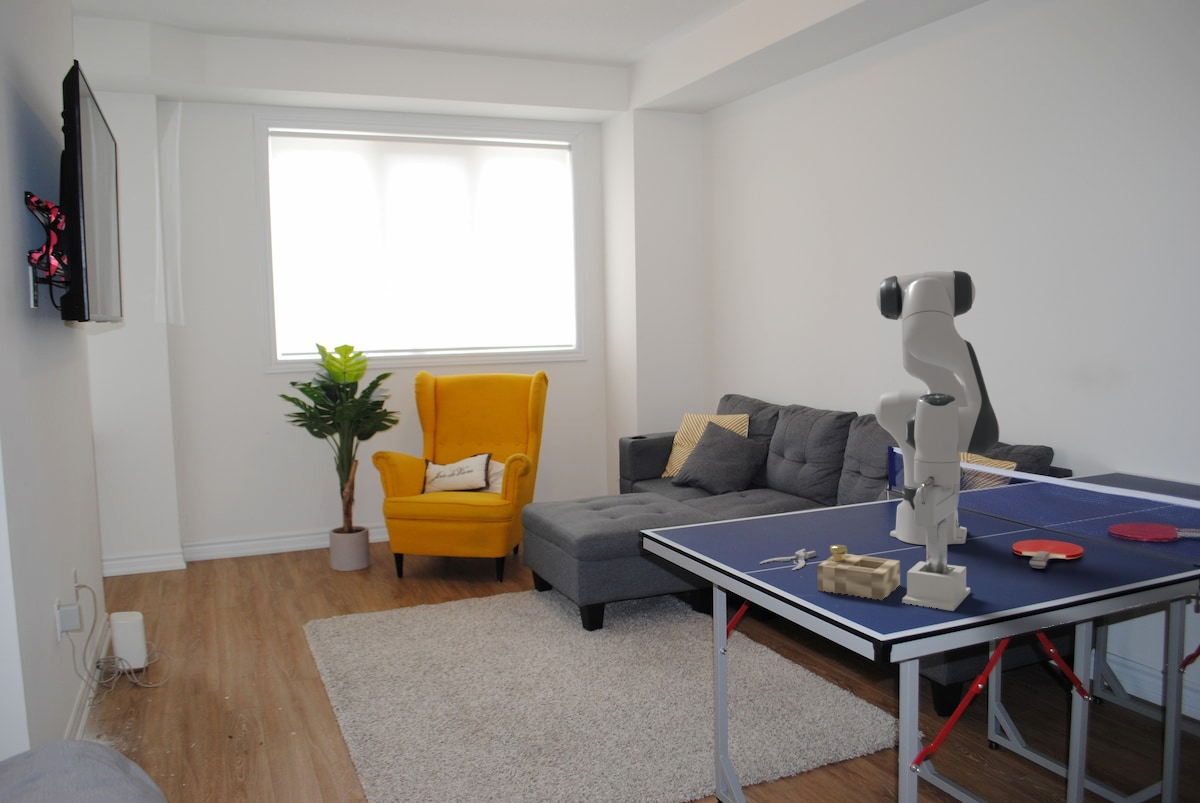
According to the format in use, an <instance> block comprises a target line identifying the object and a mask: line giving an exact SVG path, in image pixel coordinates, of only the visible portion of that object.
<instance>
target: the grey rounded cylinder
mask: <svg viewBox="0 0 1200 803" xmlns="http://www.w3.org/2000/svg"><path fill="white" fill-rule="evenodd" d="M937 534H939V538H938V542H937V543H936V544H929V543H928V535H927V531H926V545H925V546H926V547H925V548H926V549H925V554H926V555H925V556H926V560H925V562H926V572H929V573H936V574H944V575H947V565H948V545H947V521H944V520H942V521H941V522H939V523H938V527H937Z"/></svg>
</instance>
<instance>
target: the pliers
mask: <svg viewBox="0 0 1200 803" xmlns="http://www.w3.org/2000/svg"><path fill="white" fill-rule="evenodd" d="M816 555H817V552H816V550H812V551H811V550H810V551H807V550H806V548H802V549H800V550H797V551H796V552H794V555H793V556H783V557H782V556H781V557H774V558H769V559H765V560H762V561H760V562H759V564H758V565H760V564H762V565H764V564H763V563H765V564H768V563H767V562H769V563H774V562H773V561H775V562H776V561H778V562H779V561H780V562H779V563H781V562H782V563H784V562H783V561H788V562H791V559H792V560H793V564H794V565H795V564H796V565H795V567H793V568H791V569H790V570H795V571H797V570H796V569H799V570H800V568H801V569H803V568H804V567H805V566H806V561H805V560H808V559H810V558H813V557H816ZM796 560H797V562H796ZM778 562H777V563H778ZM797 565H798V566H797ZM802 567H803V568H802Z"/></svg>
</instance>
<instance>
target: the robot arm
mask: <svg viewBox="0 0 1200 803" xmlns="http://www.w3.org/2000/svg"><path fill="white" fill-rule="evenodd" d="M975 298H976V287H975V283H974V282H973V279H972V277H971V275H970V274H969V273H968V272H965V271H961V270H953V271H924V272H921V273H920V272H919V273H918V272H917V273H912V274H911V273H910V274H904V275H901V276H896V275H893V276H889V277H887V278H884V279H883V280H882V281H881V282H880V283H879V287H878V289H877V293H876V298H875V300H876V305H877V307H878V310H879V311H880V315H881V316H882V317H884V318H885V319H887V320H893V321H894V320H895V321H898V320H899V319H900V320H901V348H902V349H901V351H902V366H903V369H904V370H905V372H907V373H908V375H910V376H912V377H914V378H916V379H918V380H920V381H922V382H923V383H924V384H925V385H926V386H927V387H928V389H897V390H891V391H886V392H883V393H882V394H881V395H880V396H879V397H878V399H877V401H876V403H875V405H874V406H875V407H874V416H875V418H876V422H877V424H878V425H879V426H880V427H882V428H883V430H885V431H886V432H888V433H889V434H890V435H891V436H892V437H893V439H894V440H895V442H896V443H897V444H898V446H899V449H900V451H901V455H902V460H903V461H902V462H903V472H904V473H903V474H904V479H903V480H904V483H903V485H902V489H901V490H902V491H901V493H902V499H903V500H902V501H901V502H900V503H898V505H897V507H896V518H895V520H896V521H895V529H894V530H891V531H890V533H889V536H890V537H893V538H896V539H898V540H899V541H902V542H905V543H907V544H913V545H920V546H921V545H922V546H926V531H927V535H928V543H929V544H936V543H937V542H938V538H939V534H937V527H938V523H939V522H941V521H942V520H944V521H947V546H948V545H962V544H966V541H967V535H968V529H967V527H964V526H961V524H960V522H959V512H958V506H959V500H960V489H961V479H962V478H963V477H964V469H963V467H962V466H961V456H960V453H966V454H969V455H970V454H971V455H985V454H986V453H989V452H990V451H991V450H992V449H994V447H996V446H997V445H998V444H999V438H1000V425H999V421H998V418H997V416H996V413H995V410H994V408H993V406H992V403H991V400H990V397H989V396H990V395H989V394H988V390H987V386H986V384H985V379H984V376H983V373H982V369H981V366H980V363H979V360H978V356H977V353H976V352H975V349H974V347H973V345H972V343H971V342H970V341H968V340H966V339H964V338H963V337H962V336H961V335H960V333H958V331H957V329H956V326H955V321H954V318H956V317H958V316H961V315H965V314H966V313H968V312H969V311H970V310H971V309H972V308H973V307H972V306H973V304H974V302H975ZM956 376H957V377H958V378H959V380H960V381H961V382H960V381H959V380H958V378H957V377H956Z"/></svg>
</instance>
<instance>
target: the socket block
mask: <svg viewBox="0 0 1200 803" xmlns="http://www.w3.org/2000/svg"><path fill="white" fill-rule="evenodd" d="M816 569H817V591H818V590H819V591H818V592H824V591H825V592H826V593H831V592H833V594H838V593H841V594H840V595H844V594H848V595H847V596H851V595H855V596H854V597H857V596H860V597H859V598H864V597H867V598H866V599H870V598H872V600H877V599H879V601H884V600H885V599H886V598H887V597H888V596H889V595H891V594H892V593H893V592H894V591H896V590H897V589H898V588H899V587H900V586H901V560H898V559H889V558H882V557H875V556H874V557H873V556H867V555H859V554H858V555H857V554H852V553H851V554H850V553H846V554H845V561H844V562H834V561H833V555H831V556H830V557H828V558H826V559H825V560H823V561H822V562H820V563H819V564H818V565H817V567H816ZM899 585H900V586H899ZM898 586H899V587H898ZM897 587H898V588H897ZM896 588H897V589H896ZM892 591H893V592H892ZM825 592H824V593H825ZM891 592H892V593H891ZM890 593H891V594H890ZM885 597H886V598H885ZM884 598H885V599H884ZM883 599H884V600H883Z"/></svg>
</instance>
